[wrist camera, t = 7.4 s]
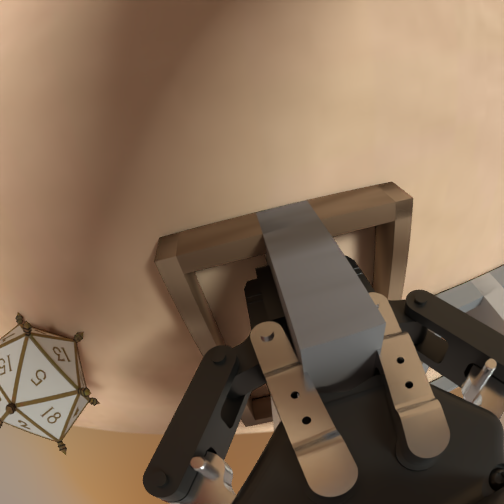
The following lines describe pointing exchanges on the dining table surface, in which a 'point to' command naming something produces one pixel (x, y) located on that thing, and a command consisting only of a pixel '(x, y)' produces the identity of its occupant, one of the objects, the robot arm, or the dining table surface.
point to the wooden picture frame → (302, 279)
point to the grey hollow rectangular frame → (476, 307)
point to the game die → (41, 382)
